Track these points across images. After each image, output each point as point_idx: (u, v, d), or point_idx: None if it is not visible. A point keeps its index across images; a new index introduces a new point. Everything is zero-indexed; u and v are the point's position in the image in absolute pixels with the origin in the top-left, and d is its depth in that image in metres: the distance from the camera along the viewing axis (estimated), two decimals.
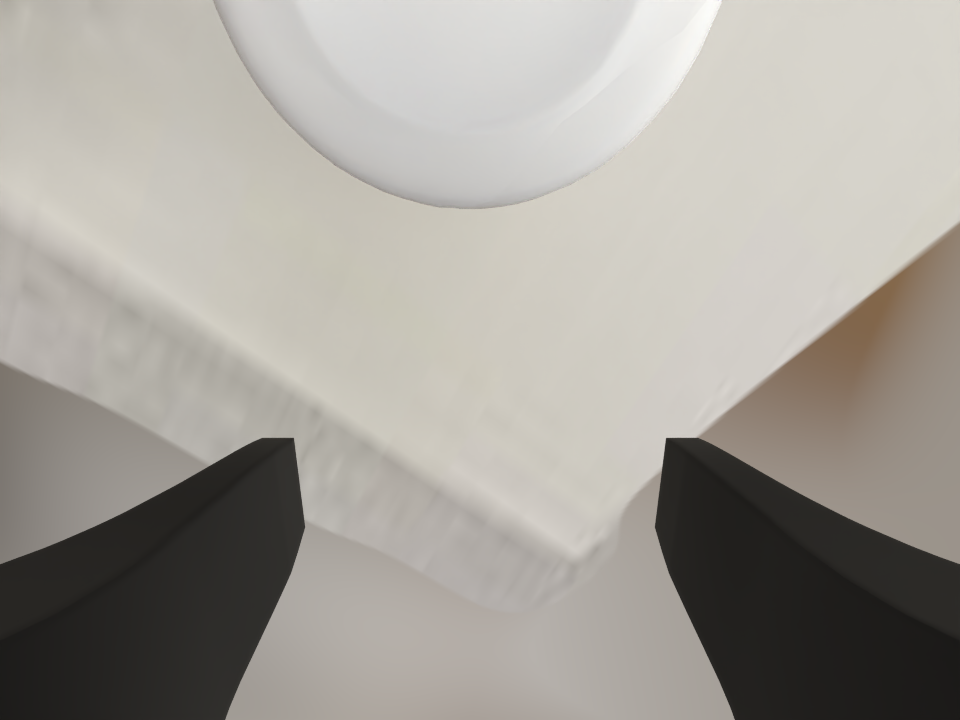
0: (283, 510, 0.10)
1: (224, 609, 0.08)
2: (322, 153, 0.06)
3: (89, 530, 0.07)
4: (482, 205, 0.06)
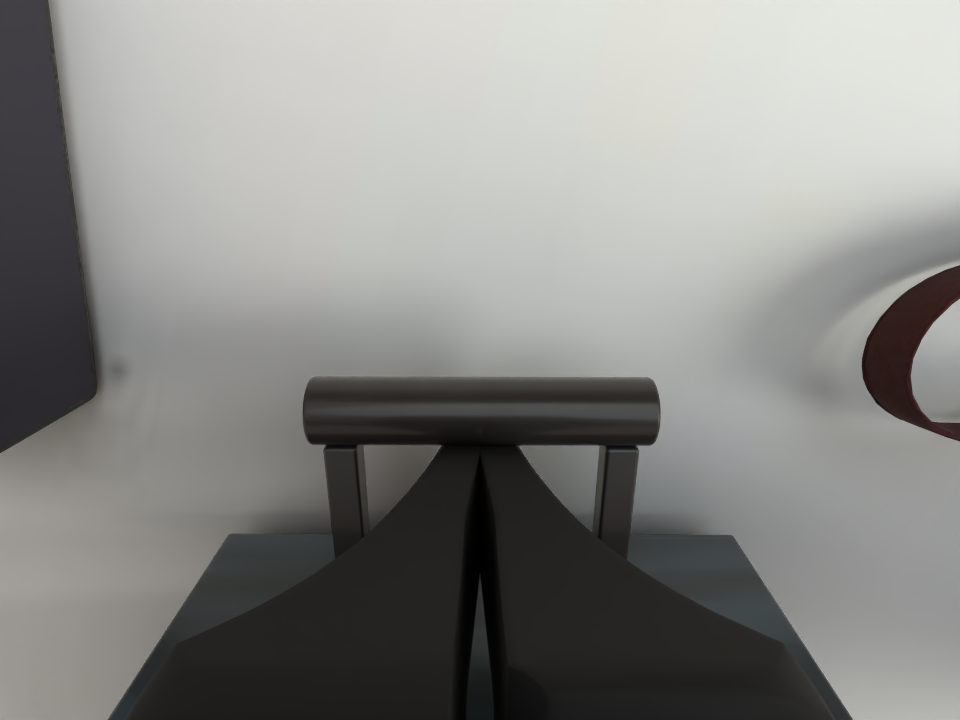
0: (479, 510, 0.10)
1: (467, 609, 0.08)
2: None
3: (375, 530, 0.07)
4: None
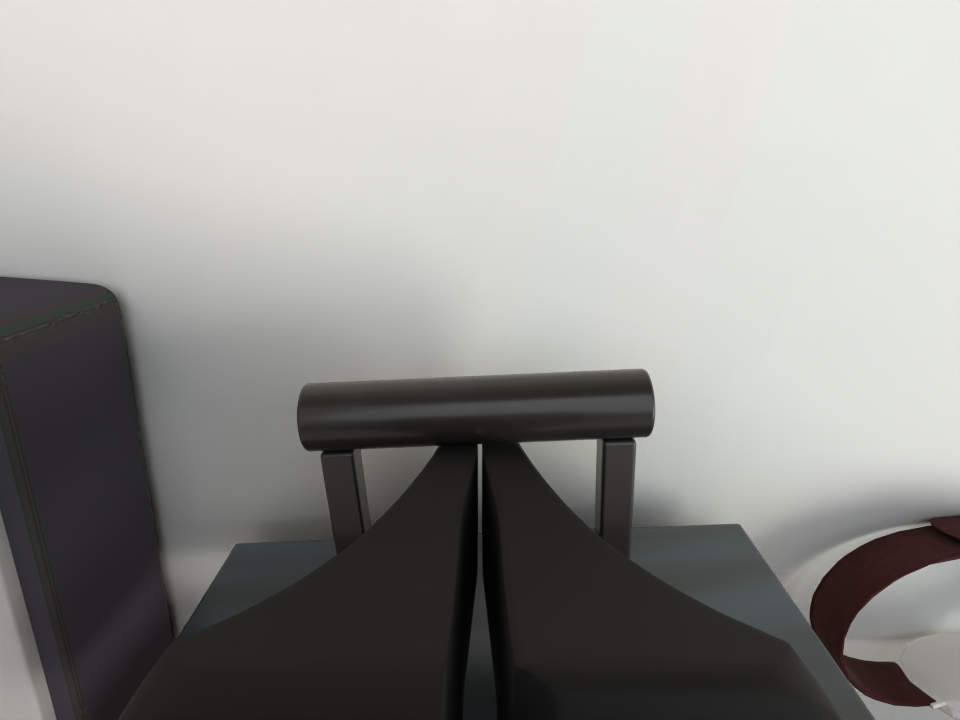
0: (476, 510, 0.10)
1: (464, 609, 0.08)
2: None
3: (371, 530, 0.07)
4: None
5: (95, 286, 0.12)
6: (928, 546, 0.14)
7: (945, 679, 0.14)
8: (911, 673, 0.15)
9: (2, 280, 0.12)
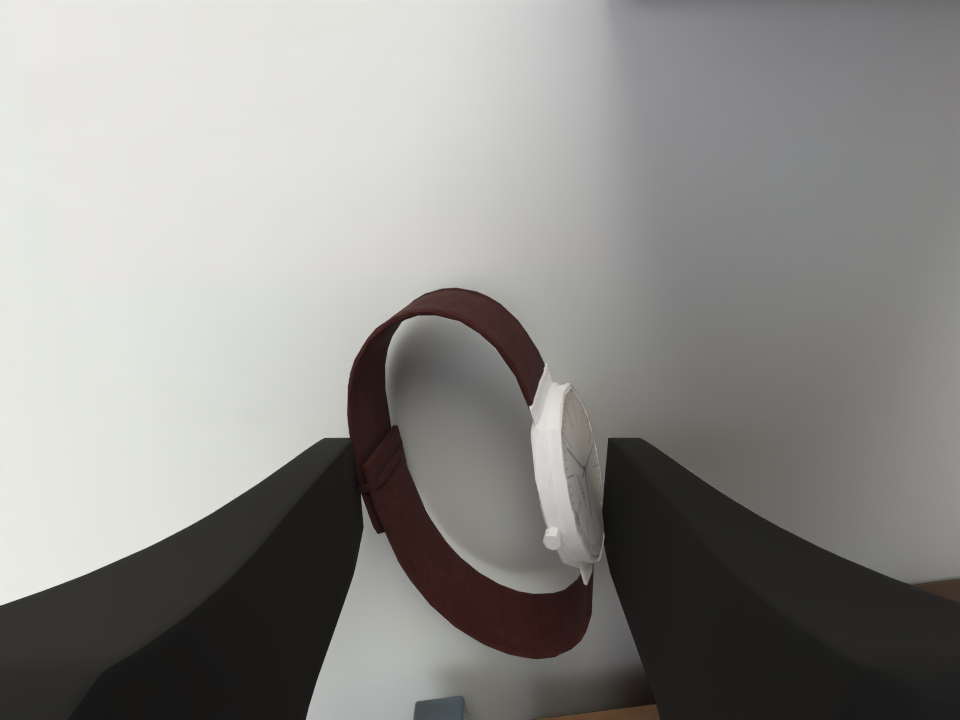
0: (348, 510, 0.10)
1: (305, 609, 0.08)
2: None
3: (184, 530, 0.07)
4: None
5: None
6: None
7: None
8: None
9: None
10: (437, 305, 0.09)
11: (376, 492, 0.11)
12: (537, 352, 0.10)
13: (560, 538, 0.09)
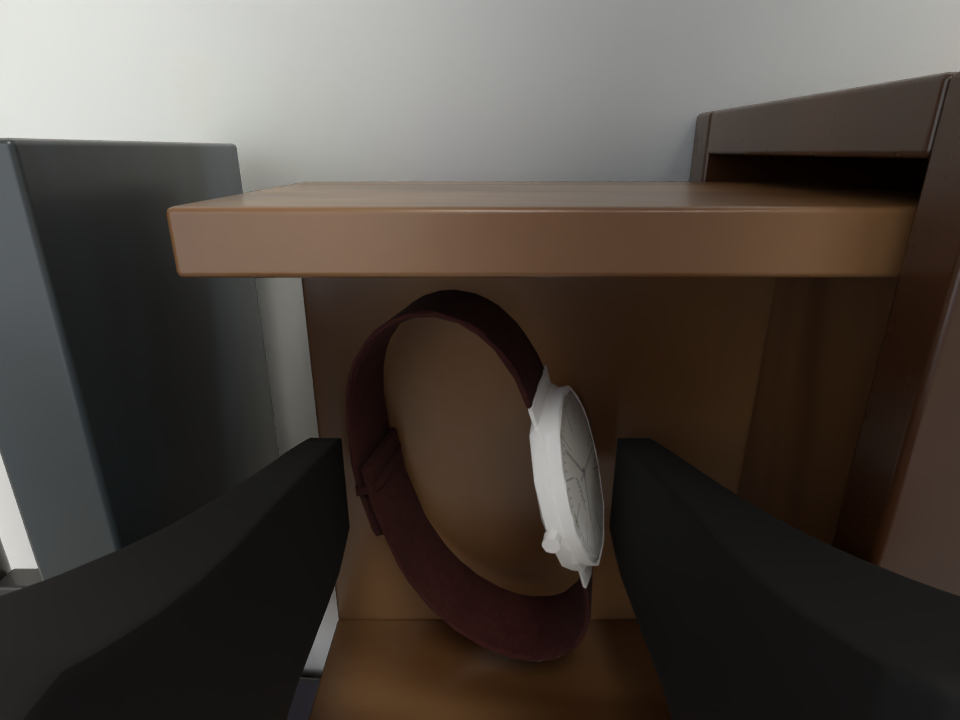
0: (333, 510, 0.10)
1: (286, 609, 0.08)
2: None
3: (162, 530, 0.07)
4: None
5: None
6: None
7: None
8: None
9: None
10: (436, 307, 0.09)
11: (374, 494, 0.11)
12: (536, 354, 0.10)
13: (559, 541, 0.09)
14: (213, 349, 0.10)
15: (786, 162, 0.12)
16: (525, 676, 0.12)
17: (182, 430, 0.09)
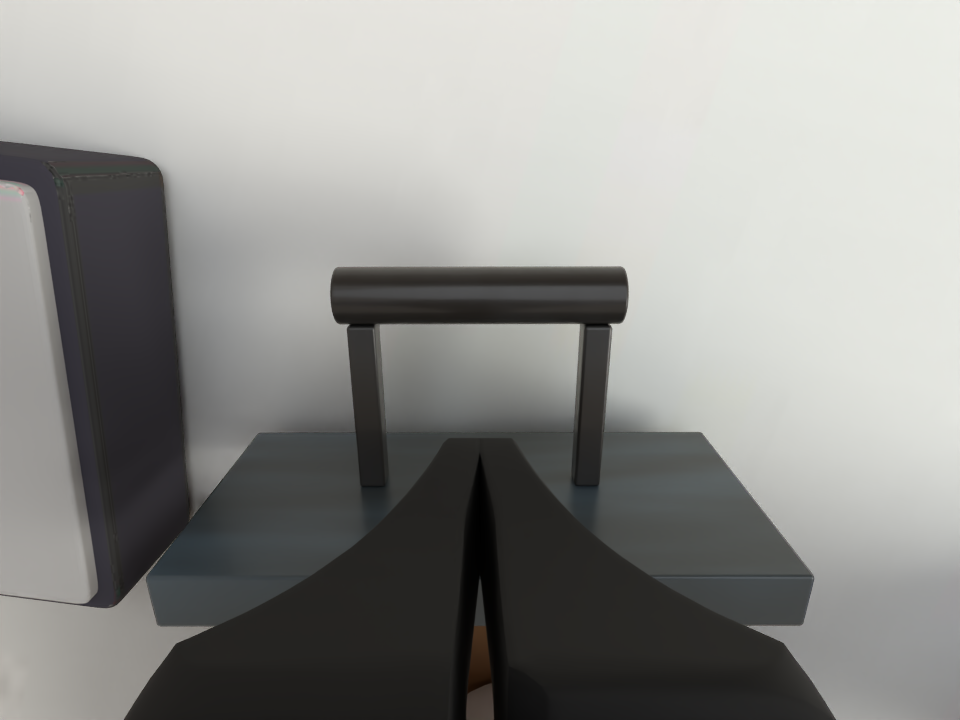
0: (479, 510, 0.10)
1: (467, 609, 0.08)
2: None
3: (374, 530, 0.07)
4: None
5: (143, 159, 0.14)
6: None
7: None
8: None
9: (60, 148, 0.14)
10: None
11: None
12: None
13: None
14: None
15: None
16: None
17: None
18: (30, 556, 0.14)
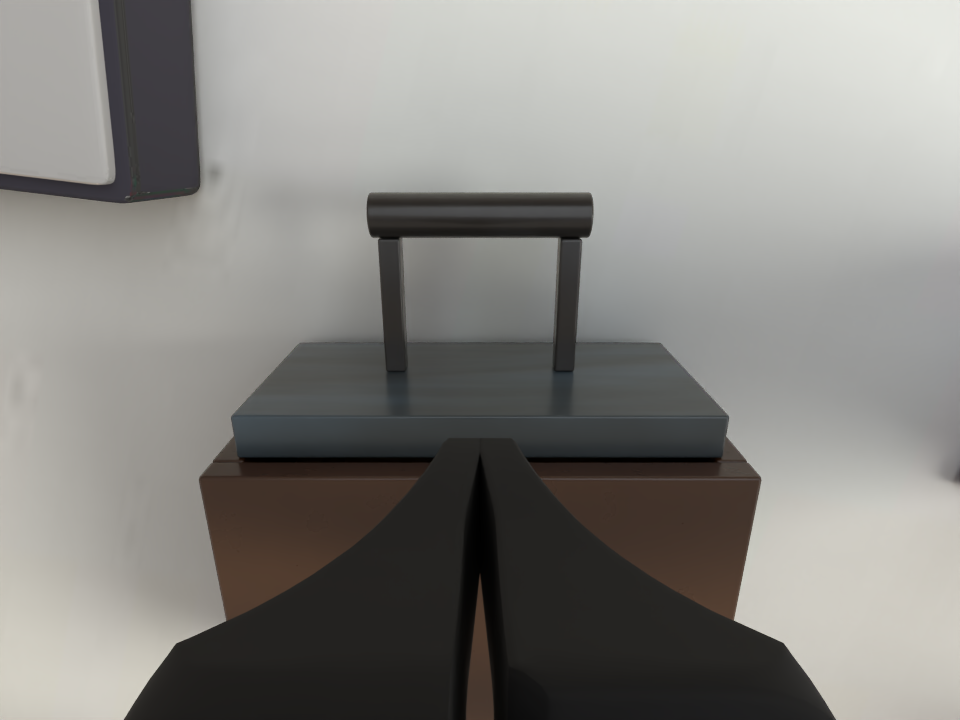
0: (479, 510, 0.10)
1: (467, 609, 0.08)
2: None
3: (374, 530, 0.07)
4: None
5: None
6: None
7: None
8: None
9: None
10: None
11: None
12: None
13: None
14: None
15: None
16: None
17: None
18: (52, 124, 0.14)
